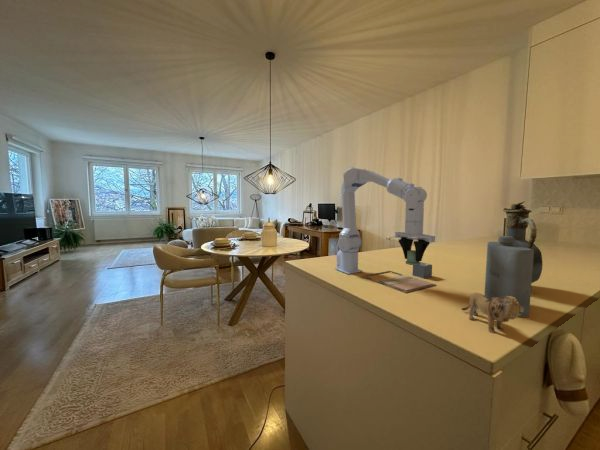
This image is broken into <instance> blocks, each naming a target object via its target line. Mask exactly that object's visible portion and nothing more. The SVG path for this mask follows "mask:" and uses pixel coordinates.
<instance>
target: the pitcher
mask: <svg viewBox="0 0 600 450" xmlns="http://www.w3.org/2000/svg"><path fill="white" fill-rule="evenodd" d="M524 203H526V200H524V201H522V202H519V203H512V204H511V205H510V207H509V208H503V209H502V211H503V212H505V213H506V214H505V215H506V220H507V221H506V224H505V225H506V236H510V237H513V238H515V243H513V245H515V246H519V247H524V248H529V249H532V250H534V257H533V270H532V283H531V284H533V283H535V282H537V281H539V279H540V278H541V275H542V271H543V255H542V251H541V250H540V248H539V247H538V246H537V245H536V244H535V242H536V238H537V232H538V230H537V227H536V226H537V225H536V223H535V222H534V220H533V219H532V218H530V213H532V212H533V210H531V209H527V208H528V207H527V206H526V207H525V206H524V205H523V204H524ZM528 227H529V229H530V232H529V233H530V236H529V239H528V240H526V234H527V229H528Z"/></svg>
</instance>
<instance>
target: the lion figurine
mask: <svg viewBox="0 0 600 450" xmlns="http://www.w3.org/2000/svg"><path fill="white" fill-rule="evenodd" d="M461 310H462V311H467V310H469V311H468V312H469V314H468V315H469V316H468V320H470V321H475V317H474V316H478V315H479V312H477V310H479V311H480V312H481V313H482V314H484V315H486V316H487V321H488V327H487V328H488V329H487V330H488V332H489V333H492V334H496V330H497V331H499V332H504V327H502V324H503V323H507V322H509V320H514V319H517V318H519V317H518V315H521V312H523V311H524V308H523V307H522V306H520V305H519V303H518V302H517V300H516V298H515V297H512V296H502V297H496V298H490V299H487V298H485V296H484V294H483V293H480V292H474V293H472V294H471V295H470V298H469V303H468V305H467V306H466V307H462V308H461ZM495 323H496V324H495ZM494 325H495V327H494ZM495 329H496V330H495Z"/></svg>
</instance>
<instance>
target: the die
mask: <svg viewBox="0 0 600 450" xmlns="http://www.w3.org/2000/svg"><path fill="white" fill-rule="evenodd" d="M419 262H420V265H412V276H414V277H415V278H416V277H417V278H420V279H428V278H431V277H432V275H433V264H430V263H426V262H422V261H419Z"/></svg>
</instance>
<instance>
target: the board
mask: <svg viewBox="0 0 600 450" xmlns="http://www.w3.org/2000/svg"><path fill="white" fill-rule="evenodd" d="M391 272H392V274H394V275H398V276H393V277H388V278H383V279H378V280H376V279H375V278H374V279H373V278H371V276H375V275H382V274H385V273H387V274H388V273H391ZM361 277H362V278H364V279H367V280H370V281H372V282H374V283H378V284H380V285H383V286H386V287H387V288H391V289H394V290H396V291H400V292H401V293H405V294H408V293H411V292H416V291H420V290H424V289H428V288H431V287H436V286H437V284H435V283H432V282H429V281H425V280H422V279H419V278H416V277H412V276H408V275H405V274H402V273H399V272H395V271H393V270H386V271H381V272H375V273H371V274H366V275H362V276H361Z"/></svg>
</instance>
